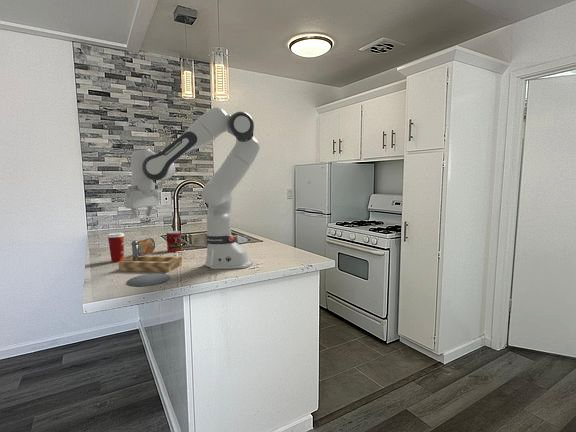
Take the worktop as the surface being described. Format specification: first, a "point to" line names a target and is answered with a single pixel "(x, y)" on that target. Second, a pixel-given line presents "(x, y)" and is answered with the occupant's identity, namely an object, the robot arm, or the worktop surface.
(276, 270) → the worktop surface
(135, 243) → the grey metal rod
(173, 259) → the oak link
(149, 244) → the tin
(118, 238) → the paper cup
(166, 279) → the slate mat
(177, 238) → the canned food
